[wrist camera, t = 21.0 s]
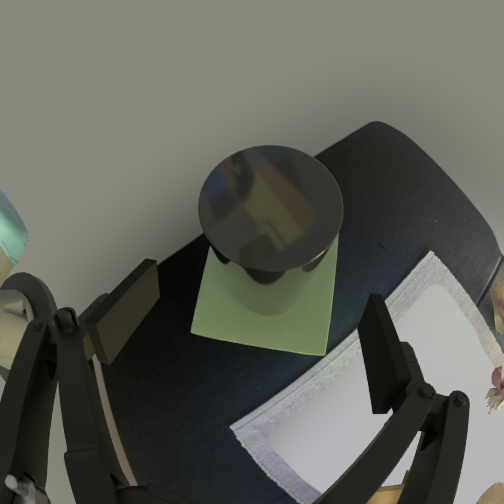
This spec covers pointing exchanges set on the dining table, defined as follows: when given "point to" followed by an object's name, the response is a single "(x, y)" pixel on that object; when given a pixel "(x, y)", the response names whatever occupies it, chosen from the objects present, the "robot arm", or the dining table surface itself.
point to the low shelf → (388, 493)
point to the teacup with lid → (493, 495)
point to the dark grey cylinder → (270, 223)
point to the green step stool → (267, 327)
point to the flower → (500, 394)
